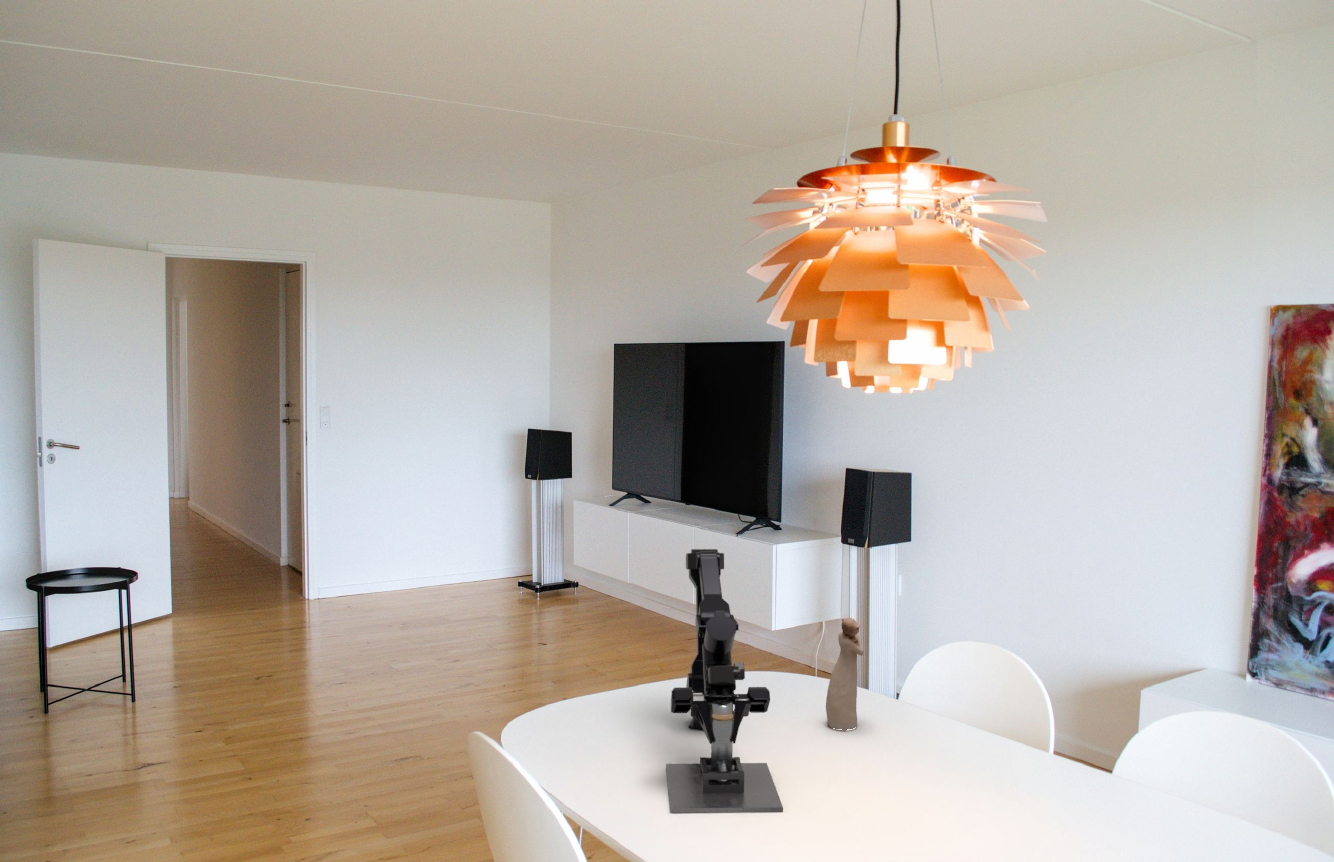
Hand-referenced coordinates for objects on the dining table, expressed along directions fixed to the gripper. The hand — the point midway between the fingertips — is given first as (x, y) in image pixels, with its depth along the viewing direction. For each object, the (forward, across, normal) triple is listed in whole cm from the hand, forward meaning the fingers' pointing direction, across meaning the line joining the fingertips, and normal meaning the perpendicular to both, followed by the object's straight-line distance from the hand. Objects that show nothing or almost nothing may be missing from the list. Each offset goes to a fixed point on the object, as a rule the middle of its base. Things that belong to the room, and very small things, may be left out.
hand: (722, 742), depth 180 cm
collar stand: (+6, 0, +8) cm, 9 cm away
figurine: (-17, +31, +31) cm, 47 cm away
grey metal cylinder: (+4, 0, +6) cm, 7 cm away
